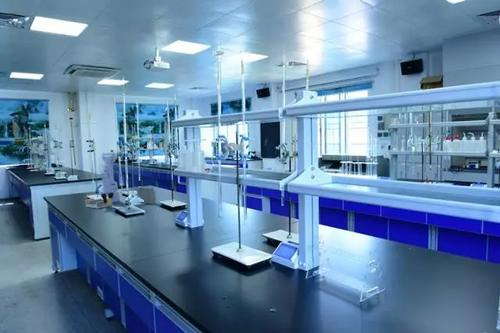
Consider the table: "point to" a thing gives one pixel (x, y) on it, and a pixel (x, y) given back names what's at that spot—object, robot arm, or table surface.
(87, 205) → the vise bed
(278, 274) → the table surface
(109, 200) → the brass block
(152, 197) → the geiger counter
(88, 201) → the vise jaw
